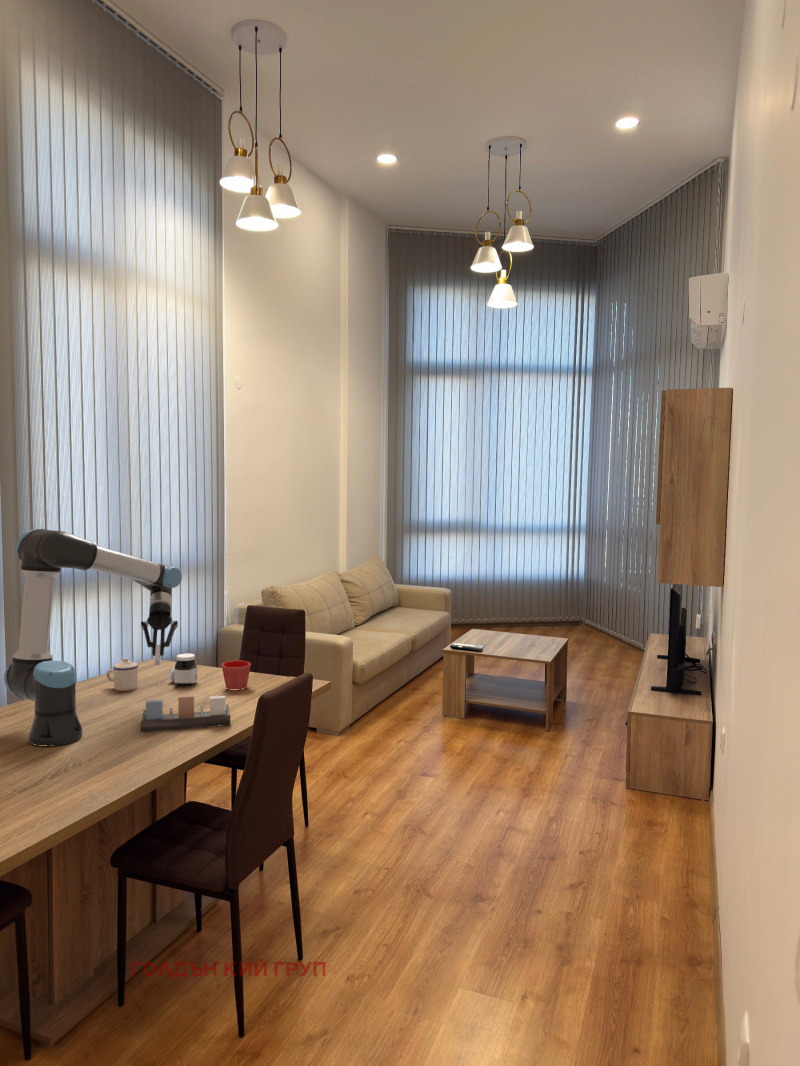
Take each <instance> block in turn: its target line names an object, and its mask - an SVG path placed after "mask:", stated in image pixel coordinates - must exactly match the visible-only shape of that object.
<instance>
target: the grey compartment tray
mask: <svg viewBox="0 0 800 1066" xmlns="http://www.w3.org/2000/svg"><path fill="white" fill-rule="evenodd" d="M229 708H230V706H229V704H225V715H211V716H210V710H209V711H204V705H200V711H196V712H195V711H194V717H182V718H179V712H178V713H174V712H173V707H172V708H169V713H168V714H167V713H166V714H165V713H164V714H163V719H153V720H146V709H143V712H142V715H141V720H140V732H141V733H147V732H157V731H160V732H161V731H172V730H173V731H174V730H186V729H198V728H199V729H200V727H202V728H210V727H209V726H216V727H219V726H218V725H229V726H231V714H230V713H231V712H230V709H229Z"/></svg>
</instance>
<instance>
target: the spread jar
mask: <svg viewBox="0 0 800 1066" xmlns="http://www.w3.org/2000/svg"><path fill="white" fill-rule="evenodd" d="M195 657H196V655H195V654H194V653H180V654H177V655H176V661H175V665H174V666H173V667H172V668H171V669H170V671H169V674H168V680H170V681H171V682H173V683H174V684H175V685H176V686H178V687H180V686H181V688H182V687H183V688H185V687H186V686H189V687H192V685H193V686H195V685H196V683H197V681H198V663H197V661H196V659H195ZM194 684H195V685H194Z"/></svg>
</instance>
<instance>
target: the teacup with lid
mask: <svg viewBox="0 0 800 1066" xmlns="http://www.w3.org/2000/svg"><path fill="white" fill-rule="evenodd" d="M138 668H139V664H138V663H137V662H135V661H131V660H129V658H128V657H124V658H122V660H121V661H119V662H117V663H115V664H114V665H113V666H112V668H111V669H108V670H107V672H106V678H107V680H108V681H109V682H111V683H113V688H114V690H115V691H119V692H120V691H121V692H126V691H127V692H129V691H132V690H136V689H137V688H138V687H139V684H138V683H139V676H138V674H139V673H138V672H139V671H138V670H139V669H138ZM110 672H113V679H112V678H111V676H110Z"/></svg>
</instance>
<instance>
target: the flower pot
mask: <svg viewBox="0 0 800 1066" xmlns="http://www.w3.org/2000/svg"><path fill="white" fill-rule="evenodd" d="M251 665H252V664H251V662H249V661H246V660H239V659H238V660H229V661H225V662H222V664H221V669H222V674H223V675H222V676H223V679H224V684H225V689H226V688H228V689H242V688H245V687H246V688H247V687H248V681H249V675H250V670H251Z"/></svg>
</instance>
